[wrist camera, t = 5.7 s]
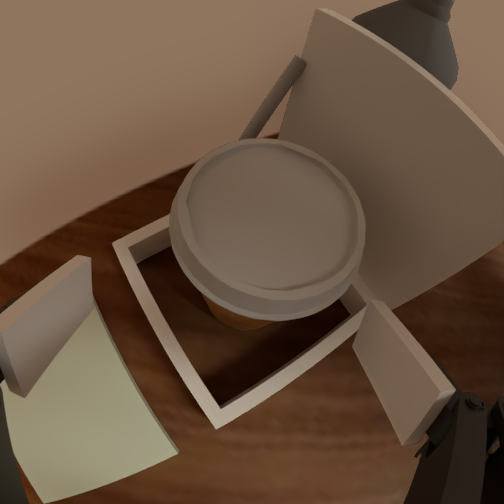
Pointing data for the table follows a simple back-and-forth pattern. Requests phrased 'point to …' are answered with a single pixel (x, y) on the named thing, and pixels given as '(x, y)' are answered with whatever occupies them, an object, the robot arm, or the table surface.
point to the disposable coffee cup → (267, 232)
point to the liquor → (417, 34)
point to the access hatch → (365, 184)
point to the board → (84, 419)
